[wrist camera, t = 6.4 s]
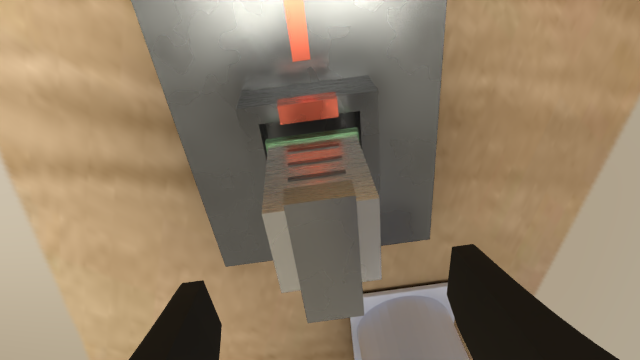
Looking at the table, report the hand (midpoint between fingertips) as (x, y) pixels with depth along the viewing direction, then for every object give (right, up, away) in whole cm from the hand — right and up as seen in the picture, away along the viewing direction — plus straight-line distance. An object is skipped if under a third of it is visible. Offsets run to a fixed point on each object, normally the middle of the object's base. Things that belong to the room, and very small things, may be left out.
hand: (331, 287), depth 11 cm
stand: (-1, +6, +9) cm, 10 cm away
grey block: (-1, +4, +6) cm, 8 cm away
